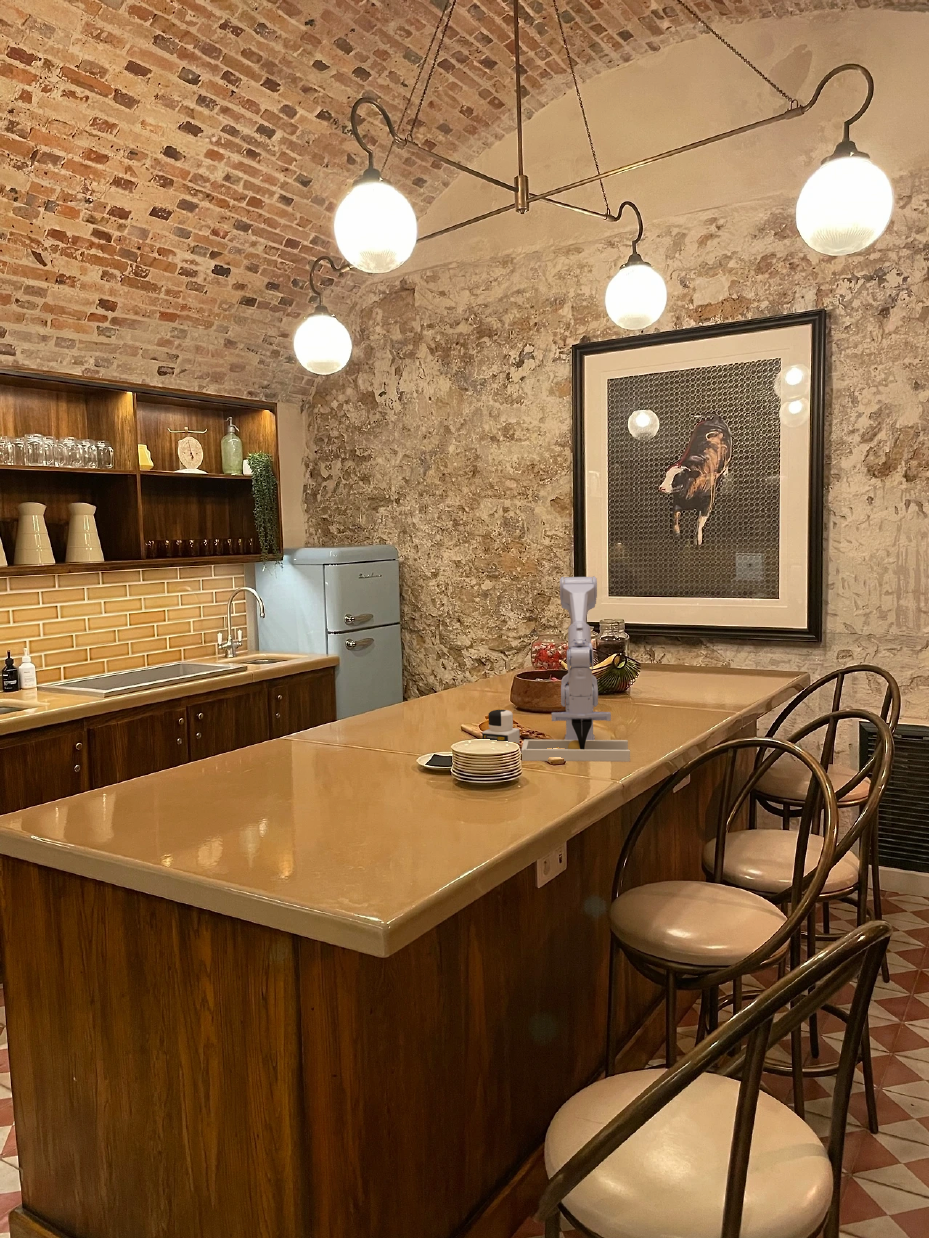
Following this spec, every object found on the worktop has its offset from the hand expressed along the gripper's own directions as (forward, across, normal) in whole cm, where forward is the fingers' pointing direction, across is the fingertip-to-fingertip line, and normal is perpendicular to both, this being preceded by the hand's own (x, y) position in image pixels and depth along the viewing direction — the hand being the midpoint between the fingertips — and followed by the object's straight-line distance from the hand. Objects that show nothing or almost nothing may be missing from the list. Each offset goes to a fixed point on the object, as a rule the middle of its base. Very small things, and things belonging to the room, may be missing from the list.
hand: (581, 749), depth 236 cm
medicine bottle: (+2, -20, 0) cm, 20 cm away
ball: (-2, -1, +1) cm, 2 cm away
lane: (+2, -1, +1) cm, 3 cm away
